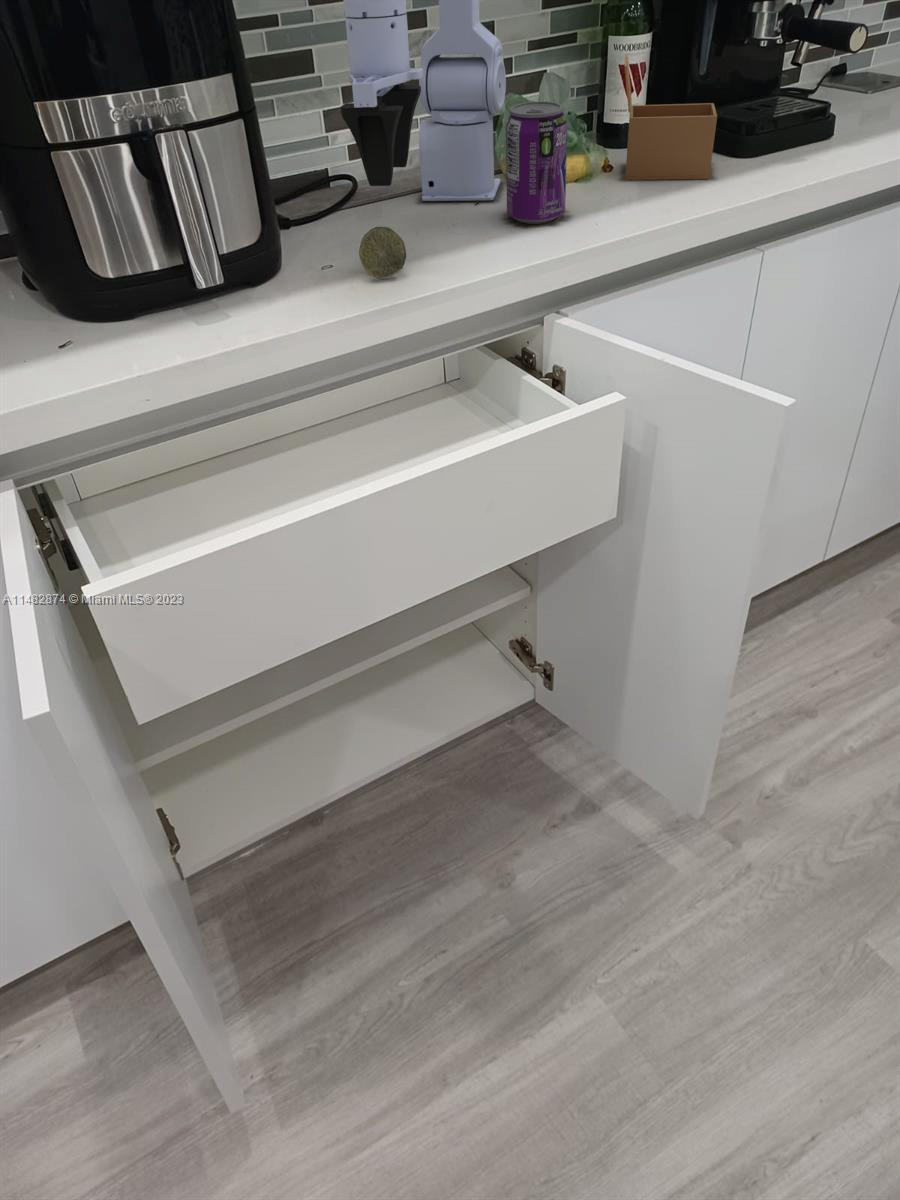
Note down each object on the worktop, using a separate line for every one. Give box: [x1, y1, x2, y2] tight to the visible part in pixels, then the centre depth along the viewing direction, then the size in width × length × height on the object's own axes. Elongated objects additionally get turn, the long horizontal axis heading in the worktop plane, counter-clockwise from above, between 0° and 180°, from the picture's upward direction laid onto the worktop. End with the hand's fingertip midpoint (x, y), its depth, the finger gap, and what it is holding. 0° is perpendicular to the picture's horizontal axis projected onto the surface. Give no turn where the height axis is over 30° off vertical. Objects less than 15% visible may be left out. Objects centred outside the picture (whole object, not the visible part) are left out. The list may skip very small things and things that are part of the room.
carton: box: [624, 102, 718, 181], centre depth 115 cm, size 11×7×7 cm, turn 81°
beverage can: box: [505, 100, 568, 225], centre depth 103 cm, size 7×7×12 cm
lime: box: [358, 226, 407, 279], centre depth 94 cm, size 4×5×5 cm
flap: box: [624, 54, 633, 114], centre depth 111 cm, size 5×7×1 cm
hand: (388, 175), depth 88 cm, fingers open, 7 cm apart
